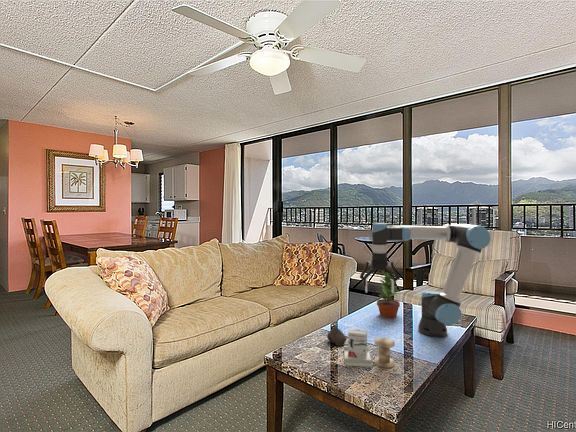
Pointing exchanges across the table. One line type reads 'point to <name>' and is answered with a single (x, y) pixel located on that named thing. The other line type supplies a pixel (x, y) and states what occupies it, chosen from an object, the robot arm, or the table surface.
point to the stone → (336, 337)
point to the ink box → (357, 343)
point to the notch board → (357, 359)
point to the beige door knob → (384, 352)
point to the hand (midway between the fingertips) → (379, 292)
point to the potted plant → (388, 299)
